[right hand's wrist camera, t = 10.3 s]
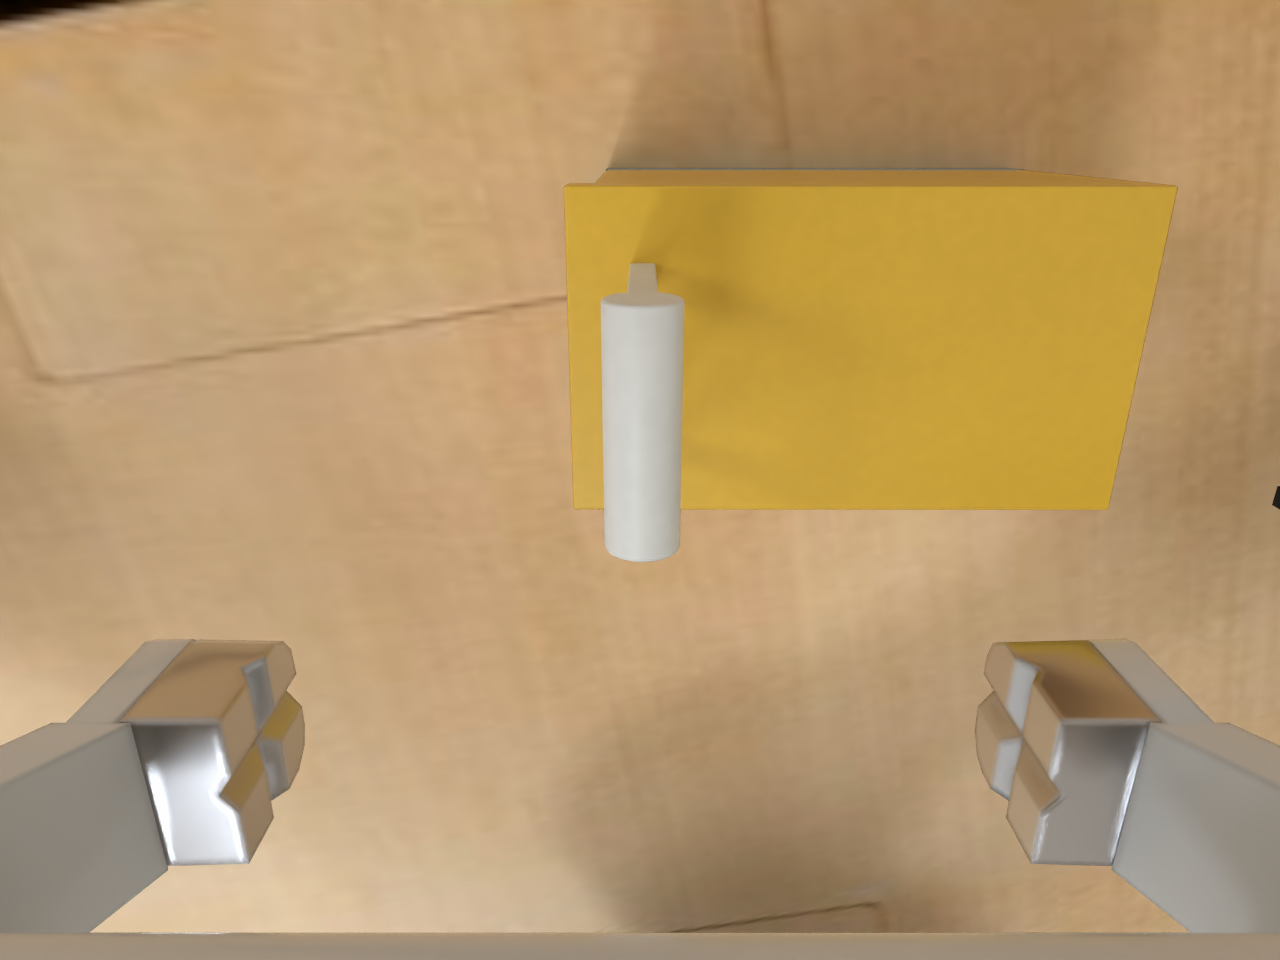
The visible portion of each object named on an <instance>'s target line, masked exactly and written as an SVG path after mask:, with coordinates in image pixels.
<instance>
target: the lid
mask: <svg viewBox="0 0 1280 960" xmlns="http://www.w3.org/2000/svg"><path fill="white" fill-rule="evenodd" d="M1177 189H1178V188H1177V186H1175V185H1165V184H1155V183H569V184H567V185H566V186H565V187H564V212H565V244H566V277H567V310H568V342H569V375H570V408H571V440H572V473H573V506H574V509H604V540H605V547H606V549H607V551H608V552H609V553H610V554H611V555H613V556H615V557H617V558H620V559H623V560H627V561H633V562H651V561H658V560H662V559H665V558H668V557H670V556H672V555H673V554H675V553H676V552H677V550H678V548H679V546H680V514H681V509H865V510H1107V509H1108V508H1109V503H1110V499H1111V494H1112V489H1113V485H1114V480H1115V476H1116V471H1117V466H1118V462H1119V457H1120V452H1121V448H1122V443H1123V439H1124V434H1125V429H1126V425H1127V420H1128V415H1129V411H1130V406H1131V402H1132V397H1133V392H1134V388H1135V383H1136V379H1137V374H1138V369H1139V365H1140V360H1141V355H1142V351H1143V346H1144V342H1145V337H1146V332H1147V328H1148V323H1149V318H1150V314H1151V309H1152V305H1153V300H1154V295H1155V291H1156V286H1157V282H1158V277H1159V272H1160V268H1161V263H1162V258H1163V254H1164V249H1165V245H1166V240H1167V235H1168V231H1169V226H1170V222H1171V217H1172V212H1173V208H1174V203H1175V198H1176V194H1177Z"/></svg>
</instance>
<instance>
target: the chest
mask: <svg viewBox="0 0 1280 960" xmlns="http://www.w3.org/2000/svg"><path fill="white" fill-rule="evenodd" d="M596 183H1146V182H1136V181H1126V180H1116V179H1106V178H1096V177H1086V176H1076V175H1066V174H1056V173H1046V172H1036V171H1026V170H1021V169H799V168H608V169H607V170H606V172H605V173H604V174H603V175H602V176H601V177H600V178H599V179H598V181H597V182H596Z"/></svg>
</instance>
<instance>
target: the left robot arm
mask: <svg viewBox="0 0 1280 960" xmlns="http://www.w3.org/2000/svg"><path fill="white" fill-rule="evenodd" d="M1272 505H1273V506H1275V507H1277V508H1279V509H1280V486H1278V487H1277V490H1276V493H1275V497H1274V500H1273V504H1272Z"/></svg>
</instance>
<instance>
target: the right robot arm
mask: <svg viewBox="0 0 1280 960" xmlns="http://www.w3.org/2000/svg"><path fill="white" fill-rule="evenodd" d="M295 675H296V670H295V666H294V661H293V656H292V652H291V649H290V648H289V647H288V646H287V645H286V644H285V643H284V642H283V641H245V640H194V639H163V640H153V641H148V642H145V643H144V644H143V645H142V646H141V647H140V648H139V649H138V650H137V651H136V652H135V653H134V654H133V655H132V656H131V657H130V658H129V659H128V660H127V661H126V662H125V663H124V664H123V665H122V666H121V667H120V668H119V669H118V670H117V671H116V672H115V673H114V674H113V675H112V676H111V677H110V678H109V679H108V680H107V681H106V683H105V684H104V685H103V686H102V687H101V688H100V689H99V690H98V691H97V692H96V693H95V694H94V695H93V696H92V697H91V698H90V699H89V700H88V701H87V702H86V703H85V704H84V705H83V706H82V707H81V708H80V709H79V710H78V711H77V712H76V713H75V714H74V715H73V716H72V717H71V718H70V719H69V720H68V721H67V722H66V723H50V724H48V725H46V726H43V727H41V728H39V729H37V730H35V731H32V732H30V733H28V734H26V735H24V736H21V737H19V738H17V739H15V740H13V741H10V742H8V743H6V744H4V745H2V746H0V960H1280V746H1278V745H1276V744H1274V743H1272V742H1270V741H1267V740H1265V739H1263V738H1261V737H1259V736H1256V735H1254V734H1252V733H1250V732H1248V731H1245V730H1243V729H1241V728H1239V727H1237V726H1234V725H1232V724H1230V723H1214V722H1213V721H1212V720H1211V719H1210V718H1209V717H1208V716H1207V715H1206V714H1205V713H1204V712H1203V711H1202V710H1201V709H1200V708H1199V707H1198V706H1197V705H1196V704H1195V703H1194V702H1193V701H1192V700H1191V699H1190V698H1189V697H1188V696H1187V695H1186V694H1185V693H1184V691H1183V690H1182V689H1181V688H1180V687H1179V686H1178V685H1177V684H1176V683H1175V682H1174V681H1173V680H1172V679H1171V678H1170V677H1169V676H1168V675H1167V674H1166V673H1165V672H1164V671H1163V670H1162V669H1161V668H1160V667H1159V666H1158V665H1157V664H1156V663H1155V662H1154V661H1153V660H1152V659H1151V658H1150V657H1149V656H1148V655H1147V654H1146V653H1145V652H1144V651H1143V650H1142V649H1141V648H1140V647H1139V646H1138V645H1137V644H1136V643H1134V642H1132V641H1129V640H1127V639H1102V640H1080V641H1040V642H1002V643H993V644H992V646H991V649H990V651H989V653H988V655H987V659H986V665H985V670H984V675H985V677H986V678H987V680H988V681H989V683H990V685H991V686H992V688H993V689H994V691H993V692H992V693H991V694H990V695H989V696H988V697H987V698H986V699H985V700H984V701H983V702H982V703H981V704H980V705H979V706H978V712H977V719H976V727H975V737H976V749H977V756H978V760H979V763H980V766H981V770H982V773H983V775H984V777H985V779H986V781H987V782H988V784H989V786H990V788H991V789H992V790H994V791H995V792H997V793H998V794H1000V795H1001V796H1003V797H1004V798H1006V799H1007V800H1009V805H1008V810H1007V815H1006V818H1007V820H1008V822H1009V824H1010V826H1011V827H1012V829H1013V831H1014V833H1015V835H1016V837H1017V838H1018V840H1019V842H1020V844H1021V846H1022V848H1023V849H1024V851H1025V853H1026V855H1027V857H1028V859H1029V860H1030V862H1031V864H1062V865H1099V866H1112V870H1113V871H1114V872H1115V873H1117V874H1118V875H1119V876H1121V877H1122V878H1123V879H1124V880H1126V881H1127V882H1128V883H1129V884H1131V885H1132V886H1133V887H1134V888H1136V889H1137V890H1138V891H1139V892H1141V893H1142V894H1143V895H1144V896H1146V897H1147V898H1148V899H1149V900H1151V901H1152V902H1153V903H1154V904H1156V905H1157V906H1158V907H1159V908H1161V909H1162V910H1163V911H1165V912H1166V913H1167V914H1168V915H1170V916H1171V917H1172V918H1173V919H1175V920H1176V921H1177V922H1178V923H1180V924H1181V925H1182V926H1183V927H1185V928H1186V929H1187V930H1188V931H1190V932H1191V933H89V932H91V931H92V930H93V929H94V928H96V927H97V926H98V925H99V924H101V923H102V922H103V921H104V920H106V919H107V918H108V917H109V916H111V915H112V914H113V913H115V912H116V911H117V910H118V909H120V908H121V907H122V906H123V905H125V904H126V903H127V902H128V901H130V900H131V899H132V898H133V897H135V896H136V895H137V894H138V893H140V892H141V891H142V890H143V889H145V888H146V887H147V886H149V885H150V884H151V883H152V882H154V881H155V880H156V879H157V878H159V877H160V876H161V875H162V874H164V873H165V872H166V871H167V870H168V867H167V866H181V865H216V864H249V863H250V861H251V859H252V857H253V855H254V853H255V851H256V850H257V848H258V846H259V844H260V842H261V840H262V839H263V837H264V835H265V833H266V831H267V829H268V828H269V826H270V824H271V822H272V820H273V818H274V815H273V810H272V804H271V800H273V799H274V798H276V797H277V796H279V795H280V794H282V793H283V792H285V791H286V790H288V789H289V788H290V786H291V784H292V782H293V780H294V778H295V776H296V774H297V772H298V770H299V767H300V763H301V758H302V754H303V749H304V742H305V724H304V717H303V711H302V706H301V705H300V704H299V703H298V702H297V701H296V700H295V699H294V698H293V697H292V696H291V695H290V694H289V693H288V692H287V691H286V690H287V688H288V686H289V685H290V683H291V681H292V680H293V678H294V677H295Z"/></svg>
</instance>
